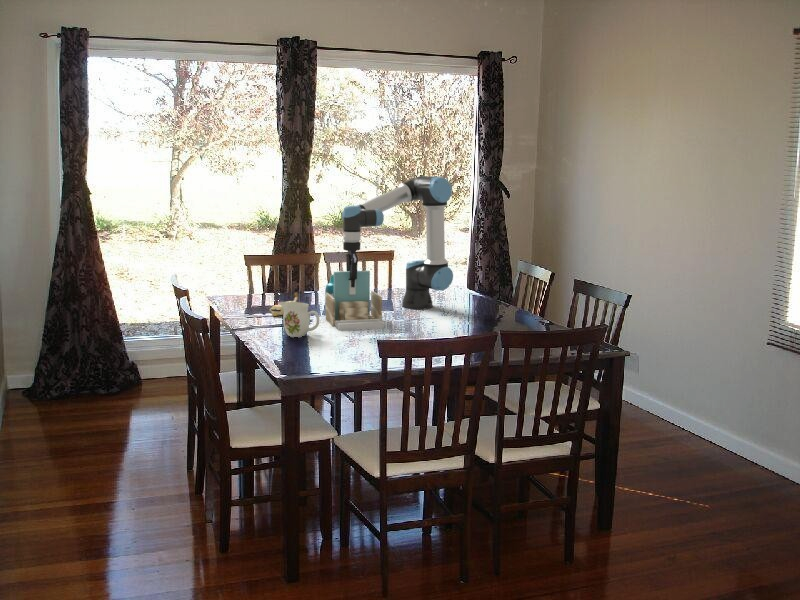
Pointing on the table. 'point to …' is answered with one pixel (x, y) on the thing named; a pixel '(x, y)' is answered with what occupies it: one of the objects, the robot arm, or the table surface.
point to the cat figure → (280, 307)
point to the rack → (375, 314)
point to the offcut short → (356, 313)
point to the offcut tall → (351, 306)
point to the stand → (359, 324)
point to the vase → (330, 288)
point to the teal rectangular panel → (343, 288)
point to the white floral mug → (297, 318)
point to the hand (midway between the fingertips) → (351, 293)
